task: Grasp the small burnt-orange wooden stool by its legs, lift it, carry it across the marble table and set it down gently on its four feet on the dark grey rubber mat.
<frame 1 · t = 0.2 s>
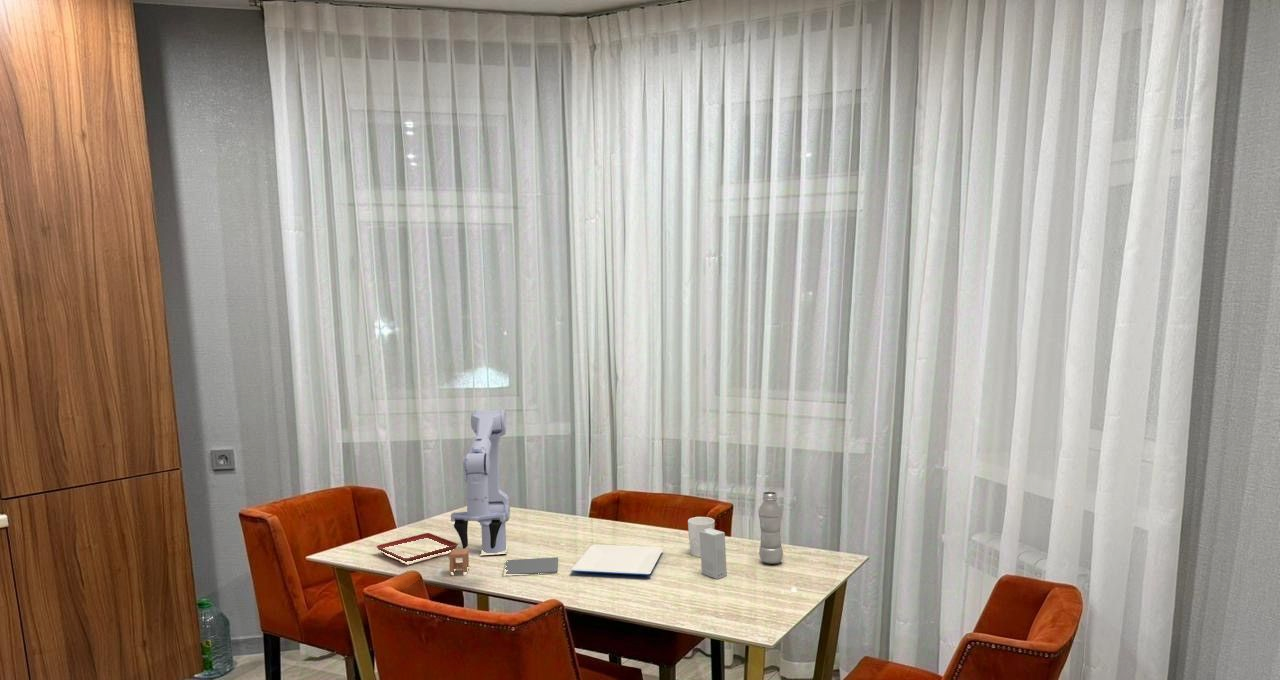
hand: (479, 547, 202), 10 cm above the table, fingers open, 7 cm apart
skincare box: (713, 575, 204), on the table
rubber mat: (531, 567, 214), on the table
plate: (619, 565, 215), on the table
stool: (459, 572, 211), on the table
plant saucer: (417, 555, 228), on the table
plastic bottle: (771, 563, 213), on the table
white cup: (701, 554, 222), on the table
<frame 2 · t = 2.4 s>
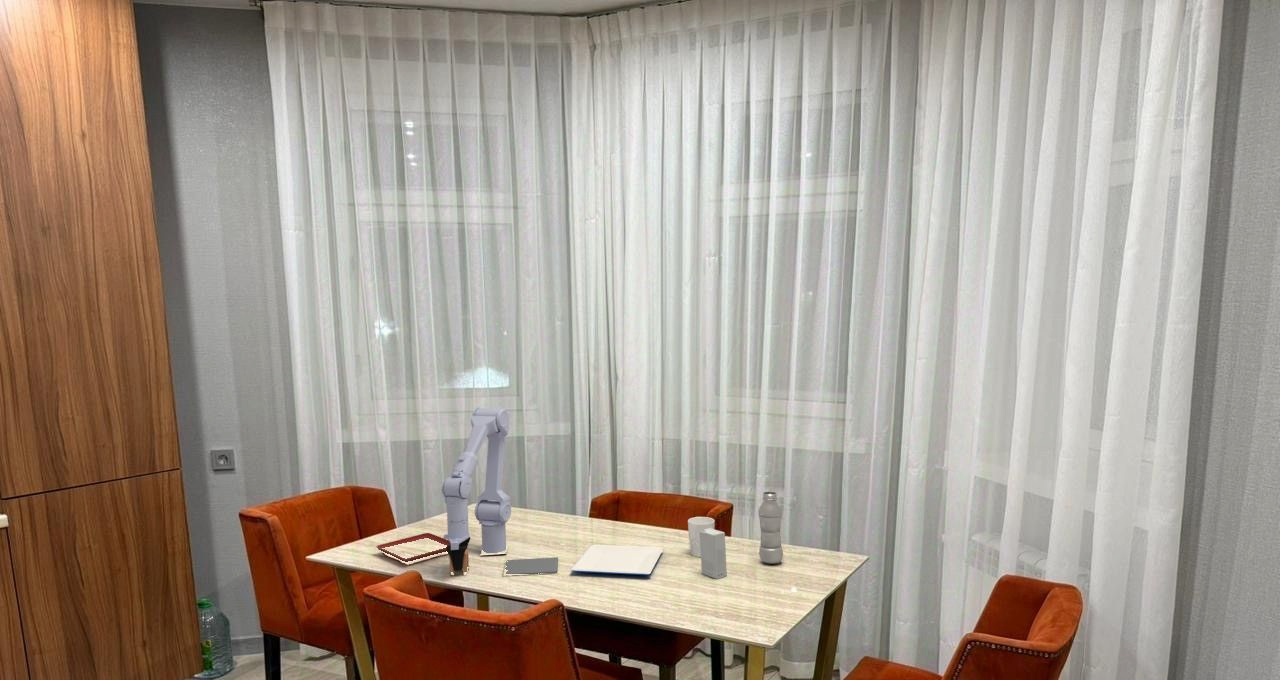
hand: (459, 567, 211), 2 cm above the table, fingers closed on stool, 5 cm apart
stool: (459, 572, 211), on the table, touching gripper
everything else where it was.
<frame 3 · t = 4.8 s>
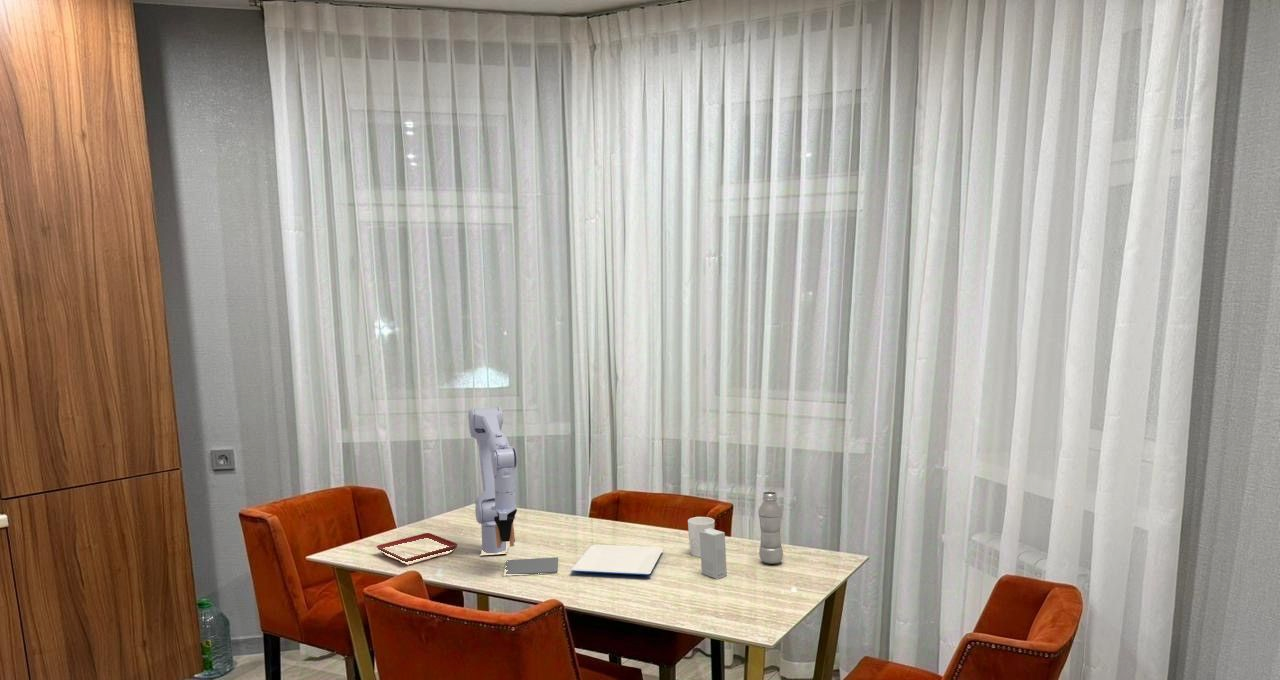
hand: (506, 538, 212), 9 cm above the table, fingers closed on stool, 5 cm apart
stool: (506, 544, 212), point 7 cm above the table, touching gripper
everything else where it was.
when the fingers open (3 cm above the table, at t = 7.2 s): stool stays where it is, resting on rubber mat.
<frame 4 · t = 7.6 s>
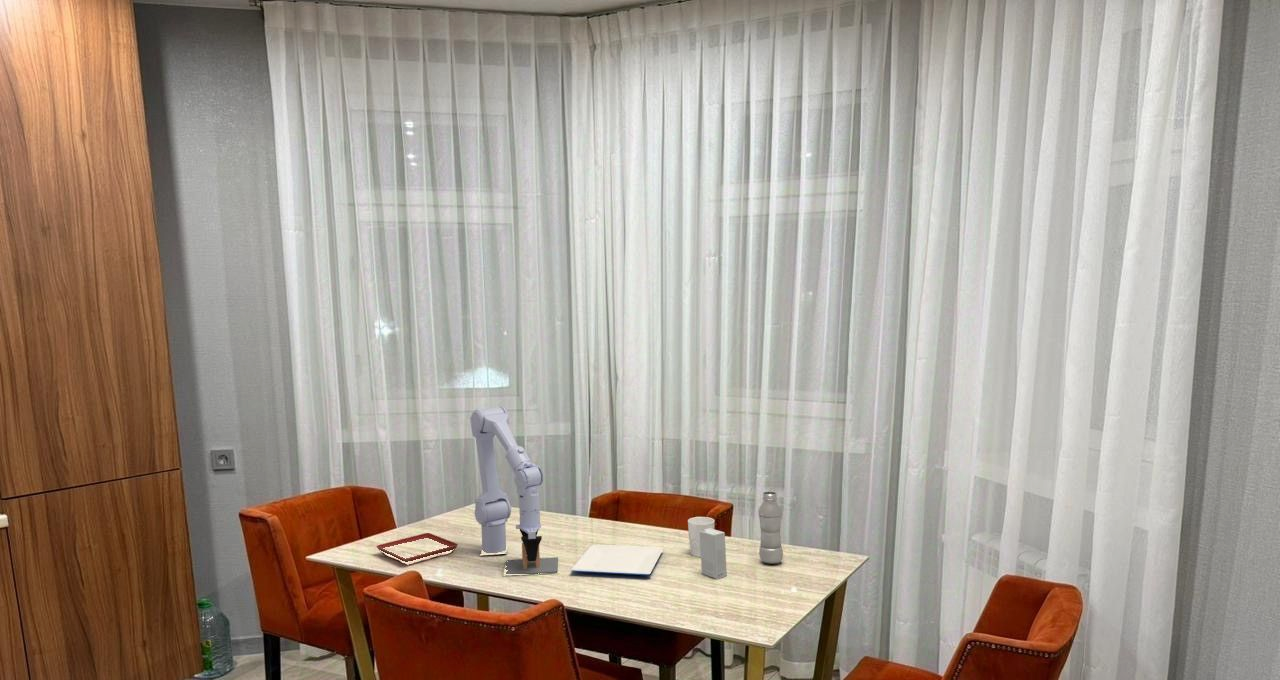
hand: (531, 556, 214), 3 cm above the table, fingers open, 7 cm apart
stool: (531, 565, 214), point 1 cm above the table, touching rubber mat
everything else where it was.
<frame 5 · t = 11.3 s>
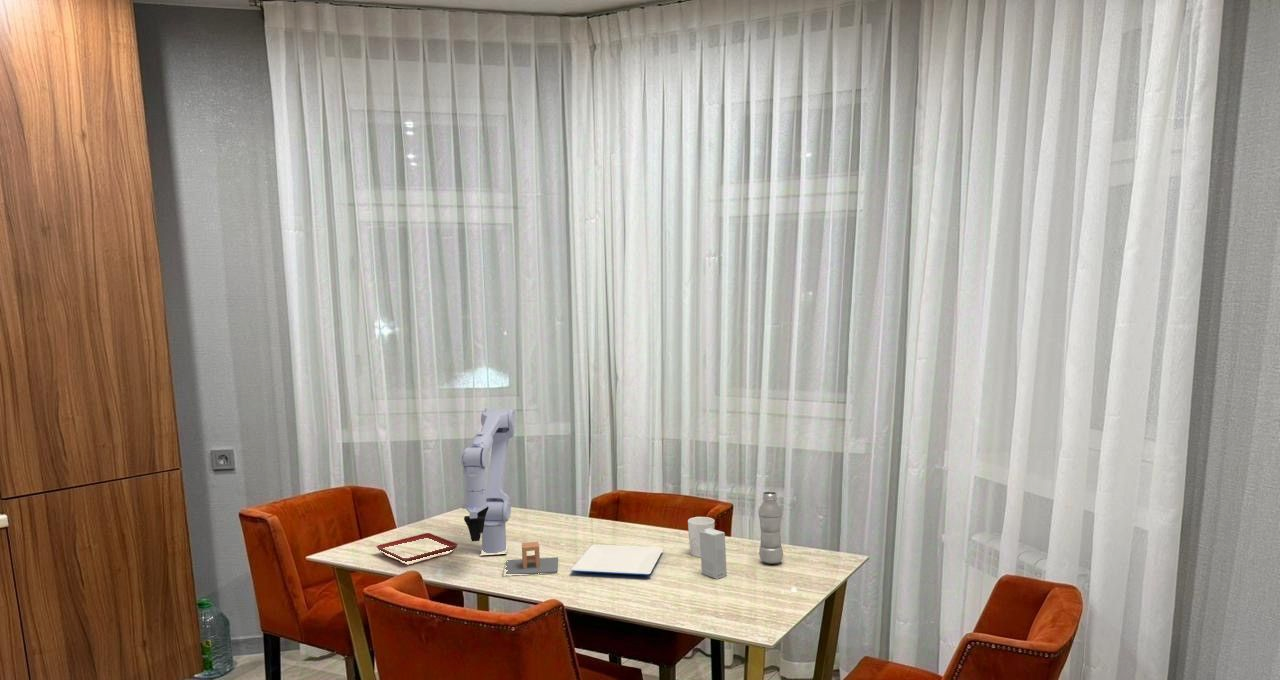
hand: (477, 536, 213), 9 cm above the table, fingers open, 7 cm apart
nothing on the table moved.
at the end: stool inside the target area on the rubber mat (0.1 cm from its centre), point 0.6 cm above the rubber mat's base; stool tilted 0°; the gripper is holding nothing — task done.
